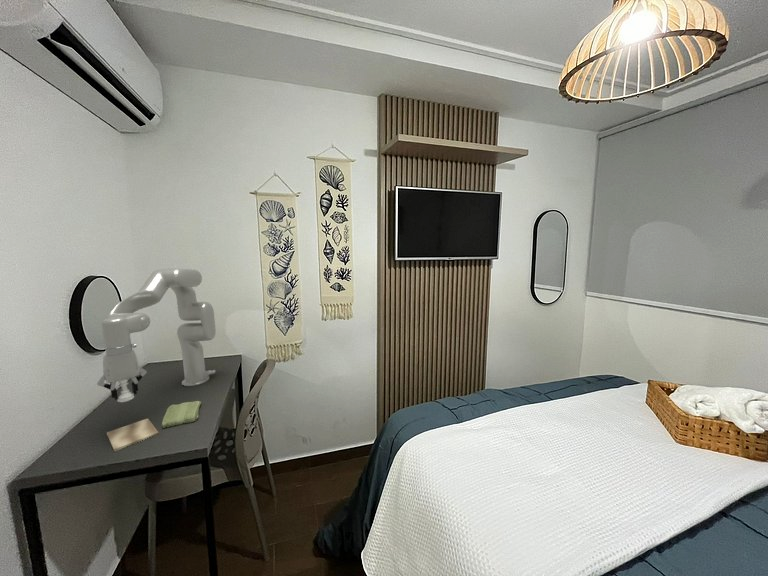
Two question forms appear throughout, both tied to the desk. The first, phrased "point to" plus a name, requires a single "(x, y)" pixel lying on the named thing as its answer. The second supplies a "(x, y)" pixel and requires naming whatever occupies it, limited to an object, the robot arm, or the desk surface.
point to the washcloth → (181, 414)
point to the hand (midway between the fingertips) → (125, 395)
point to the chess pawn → (125, 392)
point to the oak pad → (131, 434)
